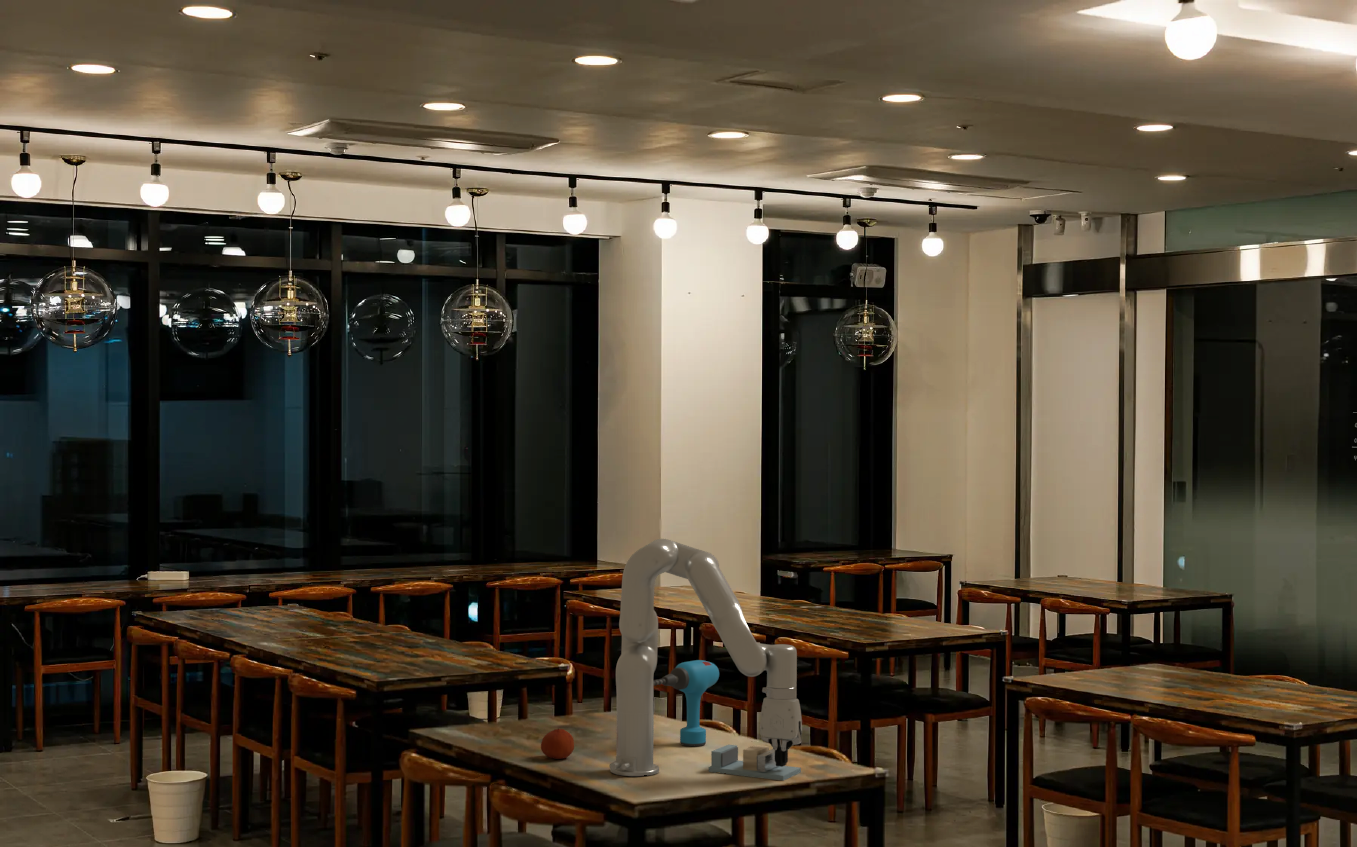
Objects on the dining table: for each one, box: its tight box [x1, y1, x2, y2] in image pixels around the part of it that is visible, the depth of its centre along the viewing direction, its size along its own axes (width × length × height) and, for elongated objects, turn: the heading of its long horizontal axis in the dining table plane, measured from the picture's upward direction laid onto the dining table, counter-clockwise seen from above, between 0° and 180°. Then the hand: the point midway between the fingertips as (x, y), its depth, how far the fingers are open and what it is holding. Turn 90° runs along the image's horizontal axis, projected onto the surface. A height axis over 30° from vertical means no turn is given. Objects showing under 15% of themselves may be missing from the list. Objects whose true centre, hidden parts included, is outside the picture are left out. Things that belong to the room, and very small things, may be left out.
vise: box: [708, 744, 802, 782], centre depth 409 cm, size 11×21×5 cm, turn 62°
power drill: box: [653, 659, 720, 747], centre depth 440 cm, size 28×9×23 cm, turn 139°
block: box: [742, 744, 770, 771], centre depth 409 cm, size 7×4×5 cm, turn 151°
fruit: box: [540, 728, 575, 760], centre depth 424 cm, size 9×9×8 cm
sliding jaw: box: [757, 748, 777, 772], centre depth 407 cm, size 10×2×4 cm, turn 152°
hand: (781, 765), depth 405 cm, fingers closed
